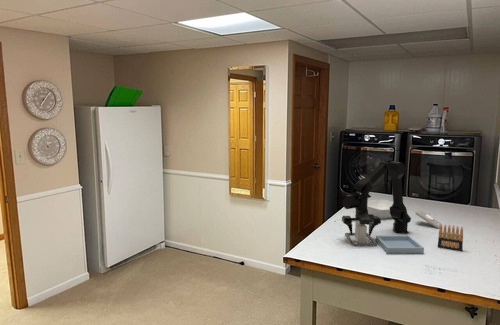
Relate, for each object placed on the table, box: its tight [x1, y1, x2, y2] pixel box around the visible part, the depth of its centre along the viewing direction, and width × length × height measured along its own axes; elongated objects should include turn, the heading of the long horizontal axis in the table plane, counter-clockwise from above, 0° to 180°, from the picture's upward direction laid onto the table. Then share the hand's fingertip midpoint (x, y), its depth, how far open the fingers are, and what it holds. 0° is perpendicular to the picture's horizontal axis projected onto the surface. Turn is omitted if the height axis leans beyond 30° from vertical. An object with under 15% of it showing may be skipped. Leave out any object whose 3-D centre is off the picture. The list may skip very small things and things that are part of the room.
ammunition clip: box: [437, 223, 464, 252], centre depth 181 cm, size 11×2×12 cm, turn 58°
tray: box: [375, 235, 425, 255], centre depth 184 cm, size 17×17×3 cm
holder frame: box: [344, 232, 378, 247], centre depth 194 cm, size 12×17×1 cm
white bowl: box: [367, 199, 393, 220], centre depth 239 cm, size 20×20×8 cm
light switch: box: [415, 209, 442, 230], centre depth 218 cm, size 8×6×14 cm
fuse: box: [354, 221, 368, 243], centre depth 193 cm, size 3×9×9 cm, turn 179°
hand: (360, 235), depth 194 cm, fingers open, 9 cm apart
